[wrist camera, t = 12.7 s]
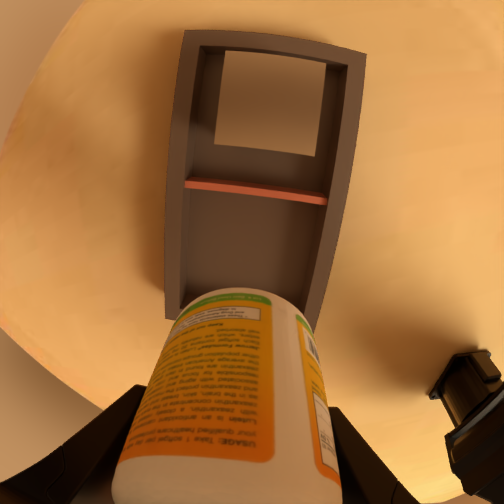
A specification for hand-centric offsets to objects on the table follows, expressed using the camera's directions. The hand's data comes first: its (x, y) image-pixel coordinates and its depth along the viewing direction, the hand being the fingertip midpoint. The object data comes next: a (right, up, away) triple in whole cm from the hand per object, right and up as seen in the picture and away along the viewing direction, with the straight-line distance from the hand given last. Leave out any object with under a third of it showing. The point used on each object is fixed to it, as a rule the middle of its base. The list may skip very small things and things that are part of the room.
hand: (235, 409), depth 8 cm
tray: (+1, +9, +10) cm, 14 cm away
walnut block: (+1, +13, +8) cm, 15 cm away
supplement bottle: (0, +1, +3) cm, 3 cm away
